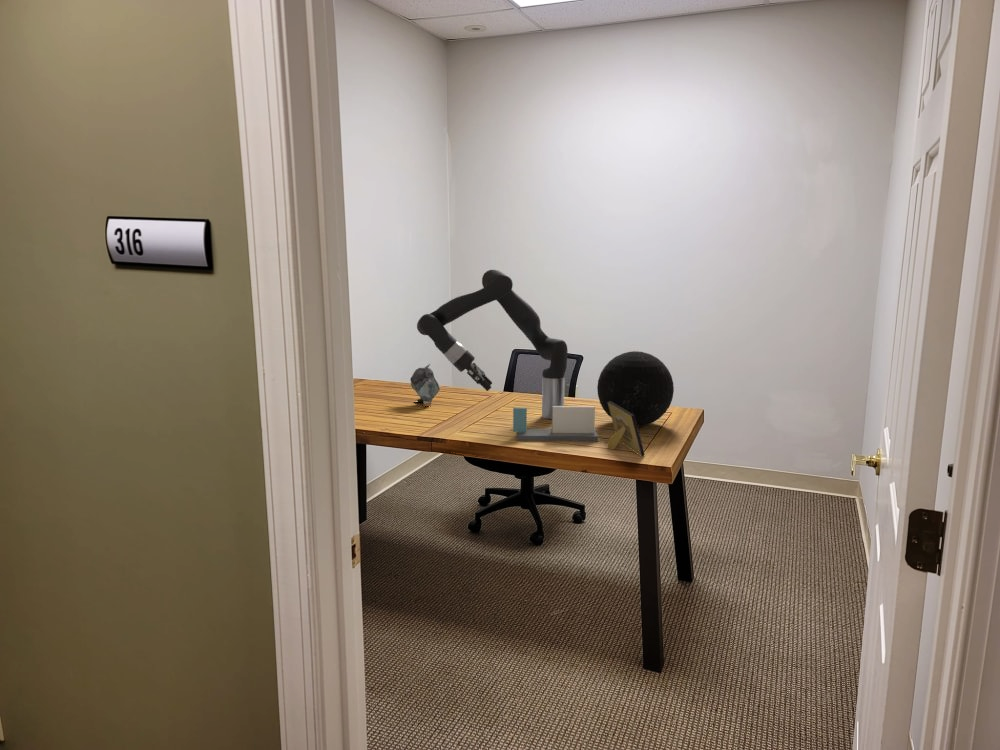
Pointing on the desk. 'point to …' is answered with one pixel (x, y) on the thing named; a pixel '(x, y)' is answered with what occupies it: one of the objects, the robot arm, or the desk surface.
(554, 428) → the sliding block rail
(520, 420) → the stub
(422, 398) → the grey bird figurine
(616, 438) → the picture frame
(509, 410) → the desk surface
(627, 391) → the fuzzy black sphere
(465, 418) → the desk surface
